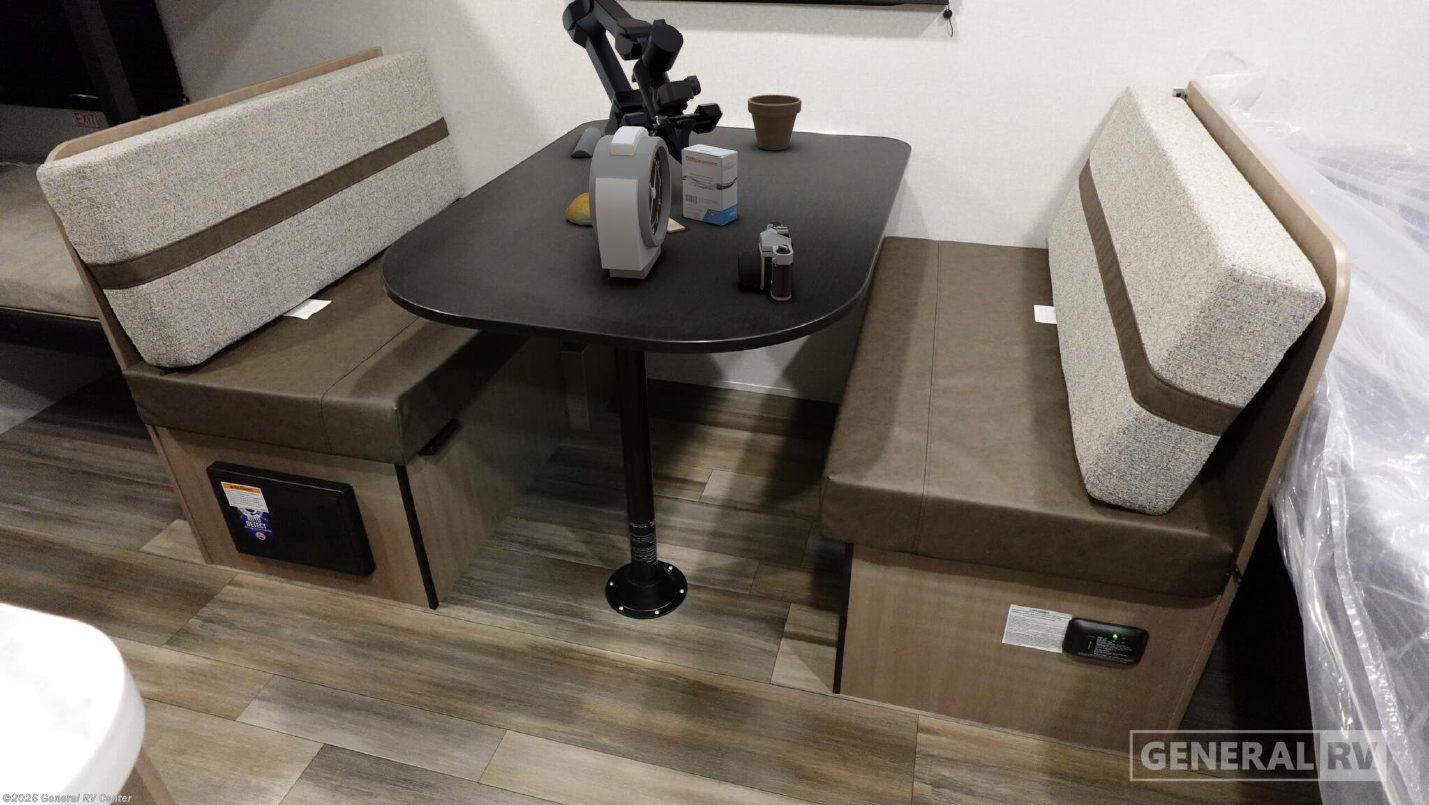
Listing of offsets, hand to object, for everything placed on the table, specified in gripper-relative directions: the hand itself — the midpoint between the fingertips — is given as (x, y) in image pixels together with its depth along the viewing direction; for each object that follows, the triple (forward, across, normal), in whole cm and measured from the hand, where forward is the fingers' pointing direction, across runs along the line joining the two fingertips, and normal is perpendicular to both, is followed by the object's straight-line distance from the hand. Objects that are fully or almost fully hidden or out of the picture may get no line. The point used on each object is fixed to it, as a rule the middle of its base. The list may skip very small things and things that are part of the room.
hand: (686, 165), depth 154 cm
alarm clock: (+20, -20, -10) cm, 30 cm away
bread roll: (+4, -18, +7) cm, 19 cm away
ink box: (+11, 0, -1) cm, 11 cm away
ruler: (+7, -8, +3) cm, 11 cm away
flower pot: (-13, +34, +23) cm, 43 cm away
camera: (+31, -7, -21) cm, 38 cm away
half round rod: (-28, 0, +38) cm, 47 cm away
